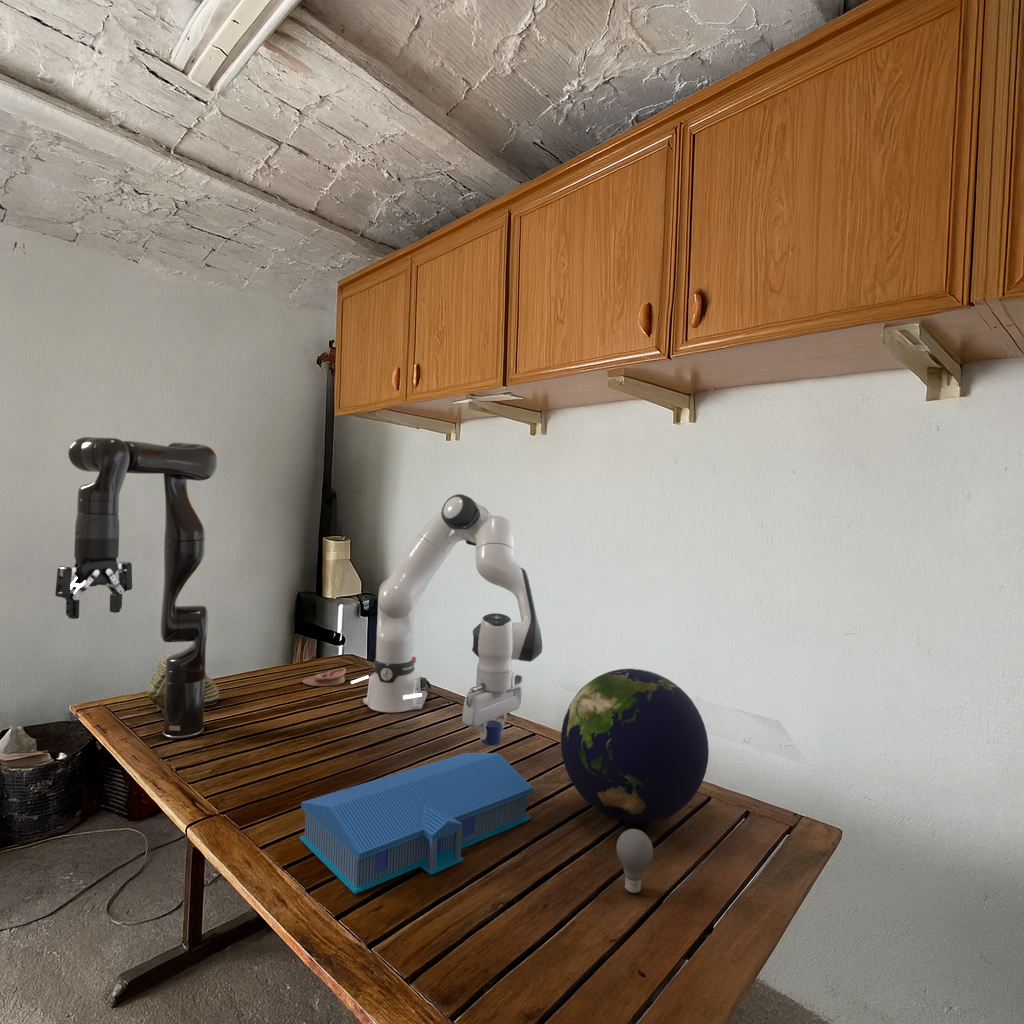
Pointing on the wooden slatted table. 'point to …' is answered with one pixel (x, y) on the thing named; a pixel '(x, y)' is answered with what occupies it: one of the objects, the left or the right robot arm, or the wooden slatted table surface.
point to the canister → (493, 733)
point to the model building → (414, 818)
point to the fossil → (158, 687)
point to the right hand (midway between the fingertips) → (491, 735)
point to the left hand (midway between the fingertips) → (94, 615)
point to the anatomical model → (326, 678)
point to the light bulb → (634, 857)
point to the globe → (634, 745)
